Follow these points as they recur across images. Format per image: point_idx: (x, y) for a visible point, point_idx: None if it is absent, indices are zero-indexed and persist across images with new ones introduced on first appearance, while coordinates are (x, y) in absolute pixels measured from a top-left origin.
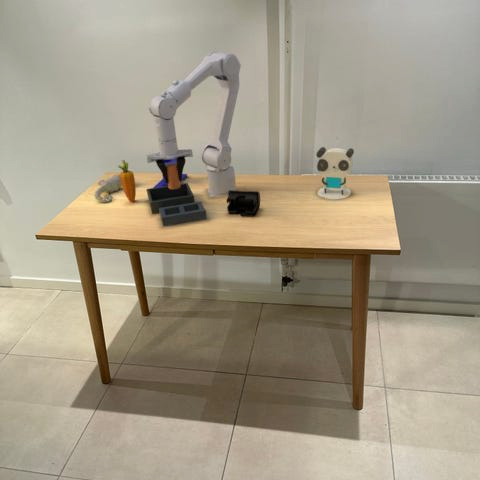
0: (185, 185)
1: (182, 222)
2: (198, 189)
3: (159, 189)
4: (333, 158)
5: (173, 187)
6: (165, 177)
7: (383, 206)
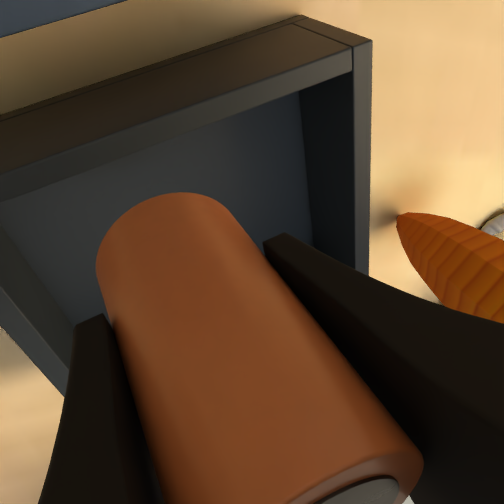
0: None
1: None
2: (38, 431)
3: None
4: None
5: (176, 206)
6: (333, 271)
7: None
